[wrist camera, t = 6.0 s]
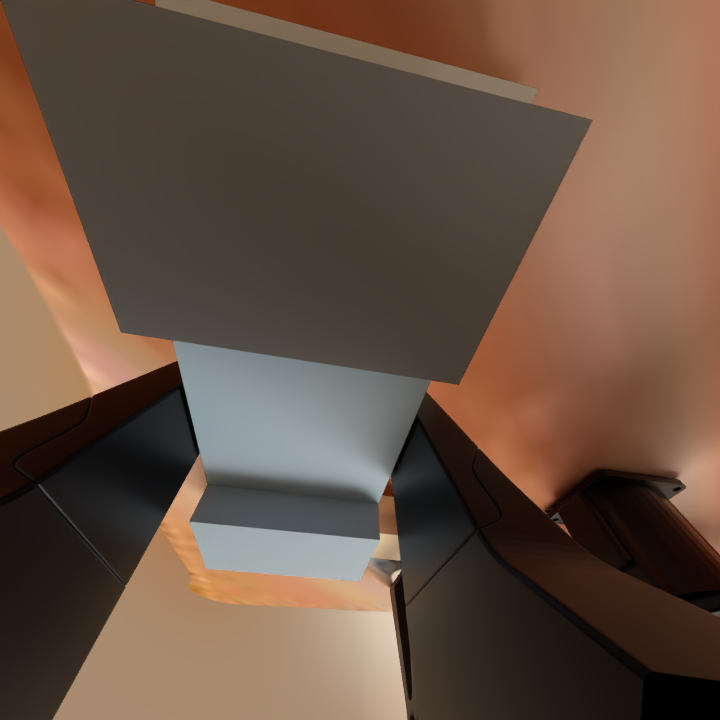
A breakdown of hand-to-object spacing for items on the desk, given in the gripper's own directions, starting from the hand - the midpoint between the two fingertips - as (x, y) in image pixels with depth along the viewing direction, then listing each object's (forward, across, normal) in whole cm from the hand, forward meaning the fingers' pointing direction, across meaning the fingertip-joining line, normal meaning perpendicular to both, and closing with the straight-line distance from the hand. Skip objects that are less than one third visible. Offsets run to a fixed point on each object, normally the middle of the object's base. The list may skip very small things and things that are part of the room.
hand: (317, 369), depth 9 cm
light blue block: (+1, 0, 0) cm, 1 cm away
